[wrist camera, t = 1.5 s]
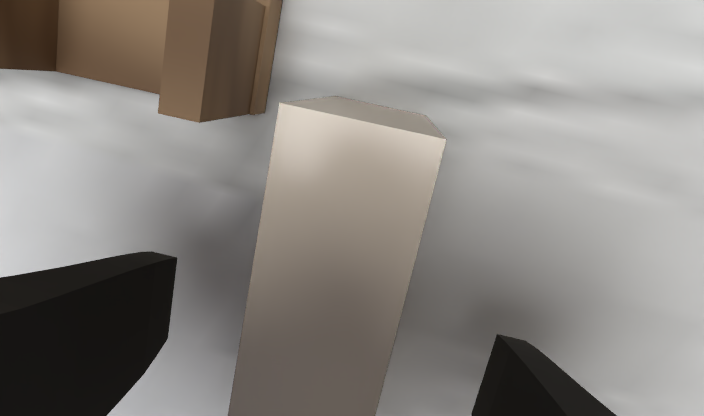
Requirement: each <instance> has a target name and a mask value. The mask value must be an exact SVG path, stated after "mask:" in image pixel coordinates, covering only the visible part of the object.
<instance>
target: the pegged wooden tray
mask: <svg viewBox="0 0 704 416" xmlns="http://www.w3.org/2000/svg"><path fill="white" fill-rule="evenodd" d="M281 6H282V0H0V69H19V70H40V71H57V72H61V73H66V74H71V75H75V76H80V77H84V78H89V79H93V80H98V81H102V82H107V83H111V84H116V85H120V86H125V87H129V88H134V89H138V90H143V91H147V92H152V93H156V94H160V98H159V108H158V113H159V114H163V115H168V116H172V117H177V118H181V119H186V120H190V121H195V122H199V123H200V122H206V121H212V120H218V119H223V118H229V117H235V116H241V115H247V114H251V115H256V114H262V113H265V107H266V101H267V95H268V88H269V82H270V76H271V69H272V63H273V57H274V51H275V44H276V38H277V32H278V25H279V19H280V13H281Z"/></svg>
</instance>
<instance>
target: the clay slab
mask: <svg viewBox="0 0 704 416" xmlns="http://www.w3.org/2000/svg"><path fill="white" fill-rule="evenodd" d="M446 140H447V139H446V138H445V137H444V136H443V135H442V134H441V132H440V131H439V130H438V129H437V128H436V127H435V125H434V124H433V123H432V122H431V121H430V120H429V119H428V117H427V116H425V115H420V114H416V113H411V112H407V111H402V110H398V109H393V108H388V107H384V106H379V105H375V104H370V103H365V102H361V101H356V100H352V99H347V98H342V97H338V96H331V97H322V98H314V99H306V100H298V101H290V102H282V103H279V109H278V115H277V121H276V127H275V133H274V139H273V145H272V151H271V157H270V163H269V169H268V175H267V181H266V187H265V194H264V200H263V206H262V212H261V218H260V224H259V230H258V236H257V242H256V248H255V254H254V260H253V266H252V272H251V278H250V284H249V290H248V296H247V303H246V309H245V315H244V321H243V327H242V333H241V339H240V345H239V351H238V357H237V363H236V369H235V375H234V381H233V387H232V393H231V399H230V406H229V412H228V416H375V414H376V410H377V407H378V403H379V399H380V395H381V391H382V387H383V383H384V379H385V376H386V372H387V368H388V364H389V360H390V356H391V352H392V349H393V345H394V341H395V337H396V333H397V329H398V325H399V321H400V318H401V314H402V310H403V306H404V302H405V298H406V294H407V290H408V287H409V283H410V279H411V275H412V271H413V267H414V263H415V260H416V256H417V252H418V248H419V244H420V240H421V236H422V232H423V229H424V225H425V221H426V217H427V213H428V209H429V205H430V201H431V198H432V194H433V190H434V186H435V182H436V178H437V174H438V170H439V167H440V163H441V159H442V155H443V151H444V147H445V143H446Z"/></svg>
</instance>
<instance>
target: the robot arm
mask: <svg viewBox="0 0 704 416" xmlns="http://www.w3.org/2000/svg"><path fill="white" fill-rule="evenodd" d="M176 264H177V258H176V257H172V256H168V255H164V254H159V253H155V252H138V253H131V254H125V255H120V256H115V257H110V258H105V259H100V260H95V261H90V262H85V263H80V264H75V265H70V266H65V267H60V268H54V269H49V270H43V271H37V272H32V273H26V274H20V275H15V276H8V277H1V278H0V416H107V414H108V413H109V412H110V411H111V410H112V409H113V408H114V407H115V406H116V405H117V404H118V402H119V401H120V400H121V399H122V398H123V397H124V396H125V395H126V394H127V392H128V391H129V390H130V389H131V388H132V387H133V386H134V385H135V383H136V382H137V381H138V380H139V379H140V378H141V377H142V375H143V374H144V373H145V371H146V370H147V369H148V367H149V366H150V364H151V363H152V361H153V360H154V359H155V357H156V356H157V354H158V353H159V351H160V350H161V348H162V346H163V345H164V343H165V342H166V340H167V339H168V332H169V323H170V315H171V306H172V298H173V289H174V281H175V272H176ZM472 416H617V415H615V414H614V413H613V412H611V411H610V410H609V409H608V408H607V407H605V406H604V405H603V404H602V403H600V402H599V401H598V400H597V399H596V398H594V397H593V396H592V395H591V394H590V393H588V392H587V391H586V390H585V389H584V388H583V387H581V386H580V385H579V384H578V383H577V382H576V381H574V380H573V379H572V378H571V377H570V376H569V375H567V374H566V373H565V372H564V371H563V370H562V369H561V368H559V367H558V366H557V365H556V364H555V363H554V362H552V361H551V360H550V359H549V358H548V357H546V356H545V355H544V354H543V353H542V352H540V351H539V350H538V349H537V348H535V347H534V346H532V345H531V344H529V343H528V342H526V341H524V340H519V339H515V338H511V337H507V336H503V335H498V334H497V336H496V339H495V342H494V346H493V349H492V352H491V355H490V358H489V361H488V364H487V367H486V370H485V374H484V377H483V380H482V383H481V386H480V389H479V392H478V395H477V398H476V402H475V405H474V408H473V411H472Z"/></svg>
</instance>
